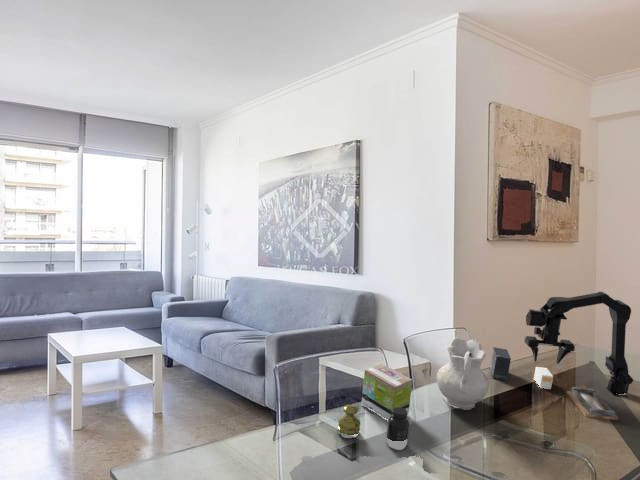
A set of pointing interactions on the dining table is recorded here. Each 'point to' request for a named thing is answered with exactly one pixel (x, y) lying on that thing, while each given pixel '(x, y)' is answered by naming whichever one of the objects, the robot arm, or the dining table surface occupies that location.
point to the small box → (500, 363)
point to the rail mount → (591, 403)
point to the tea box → (386, 390)
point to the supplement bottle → (398, 425)
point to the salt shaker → (349, 421)
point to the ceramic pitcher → (463, 374)
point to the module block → (543, 377)
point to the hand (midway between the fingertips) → (546, 362)
